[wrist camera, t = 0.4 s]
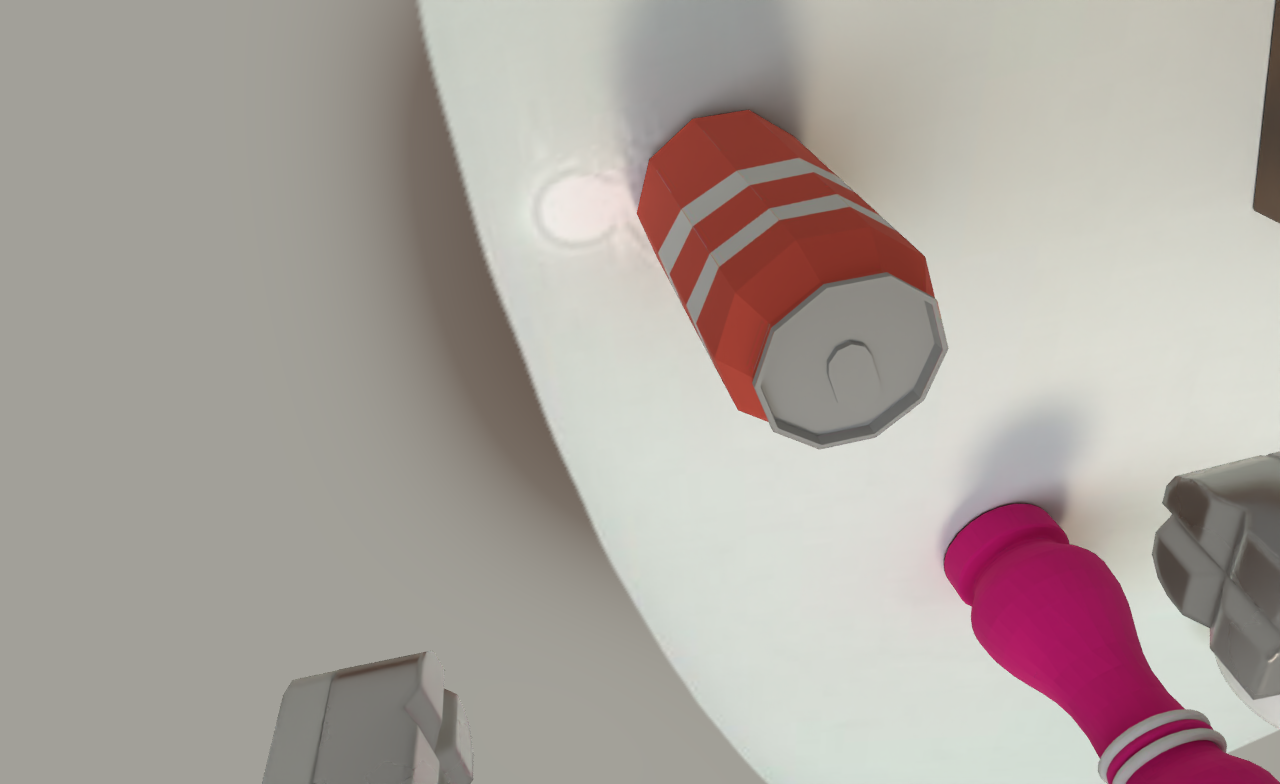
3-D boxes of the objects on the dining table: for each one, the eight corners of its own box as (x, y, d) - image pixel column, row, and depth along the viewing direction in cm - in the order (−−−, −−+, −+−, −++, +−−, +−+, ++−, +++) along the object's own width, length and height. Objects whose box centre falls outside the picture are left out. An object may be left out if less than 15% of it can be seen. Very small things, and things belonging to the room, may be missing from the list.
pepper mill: (909, 559, 46) (1176, 972, 30) (1021, 472, 44) (1370, 864, 28) (974, 610, 50) (1242, 1000, 34) (1080, 532, 48) (1417, 907, 32)
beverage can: (674, 295, 34) (780, 498, 24) (607, 152, 30) (702, 326, 21) (817, 225, 34) (981, 404, 24) (767, 72, 30) (940, 210, 20)
